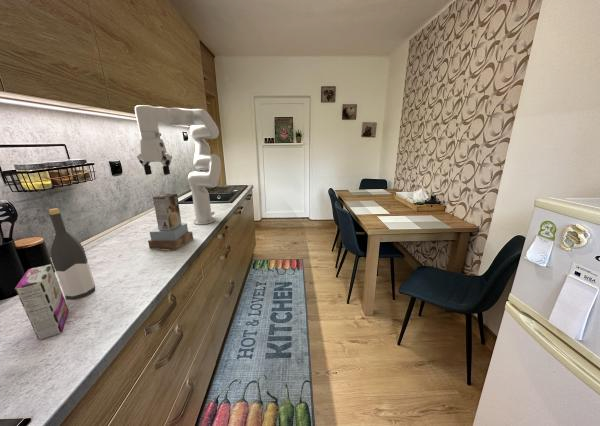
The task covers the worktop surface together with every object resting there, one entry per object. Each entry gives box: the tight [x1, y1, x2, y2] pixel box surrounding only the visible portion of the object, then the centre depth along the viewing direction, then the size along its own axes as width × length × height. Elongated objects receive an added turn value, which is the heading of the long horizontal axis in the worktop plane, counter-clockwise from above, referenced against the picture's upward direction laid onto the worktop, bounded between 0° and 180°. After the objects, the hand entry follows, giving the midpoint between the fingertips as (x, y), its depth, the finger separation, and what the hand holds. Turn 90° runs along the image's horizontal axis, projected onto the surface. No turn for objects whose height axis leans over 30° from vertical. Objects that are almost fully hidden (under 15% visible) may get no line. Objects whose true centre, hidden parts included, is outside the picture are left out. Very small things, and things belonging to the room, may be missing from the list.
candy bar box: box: [14, 263, 70, 341], centre depth 66 cm, size 11×5×16 cm, turn 35°
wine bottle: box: [48, 207, 96, 301], centre depth 78 cm, size 8×8×30 cm
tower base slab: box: [147, 230, 194, 251], centre depth 121 cm, size 14×14×4 cm
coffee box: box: [152, 192, 182, 231], centre depth 117 cm, size 9×6×16 cm
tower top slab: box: [149, 222, 189, 241], centre depth 120 cm, size 12×12×4 cm
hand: (157, 174), depth 112 cm, fingers open, 9 cm apart
